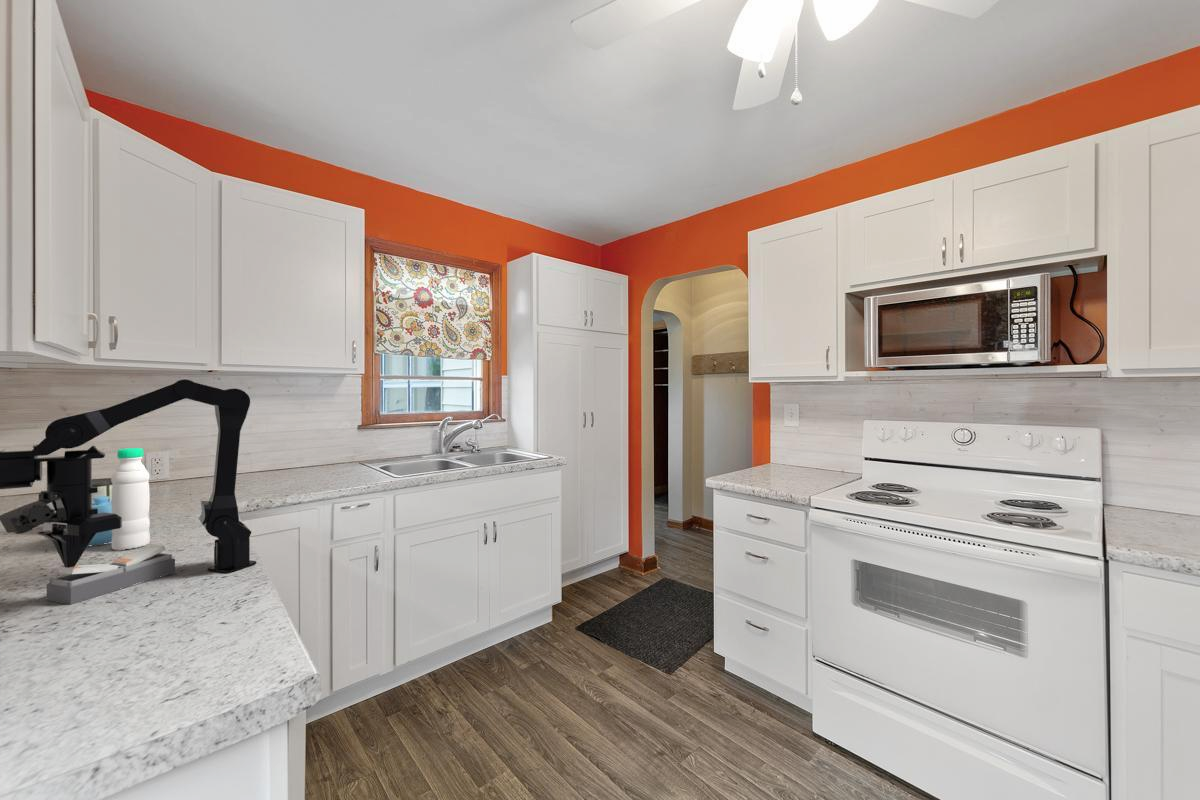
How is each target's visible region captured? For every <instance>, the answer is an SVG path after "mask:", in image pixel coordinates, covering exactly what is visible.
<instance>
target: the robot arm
mask: <svg viewBox="0 0 1200 800" xmlns="http://www.w3.org/2000/svg"><path fill="white" fill-rule="evenodd" d="M187 399H188V400H191V401H194V402H198V403H202V404H206V405H210V406H214V412H215V413H214V414H215V419H216V423H217V432H218V433H217V440H216V442H217V443H216V450H215V451H216V452H215V463H214V472H213V484H212V492H211V494H210V497H209V500H201V501H200V506H201V512H200V515H199V517H198V520H199V522H200V523H201V525H203V527H204V529H205V530H206V532H207V533H208V534H209V535H210V536H212V537H214V538H217V539H214V547H213V564H214V565H212V566H208V567H207V571H212V572H219V573H227V574H228V573H232V572H235V571H238V570H241V569H244V568H247V567H250V566H253V565H255V564H257V561H256V560H250V557H251V556H250V553H251V551H250V548H251V547H250V546H251V545H250V542H251V541H250V537H251V534H252V530H250V528H249V527H248V526H247V525H246V524H245V523H243V522H241V521H240V516H239V509H238V508H239V507H238V503H237V498H236V483H237V481H236V480H237V473H238V462H239V461H238V459H239V452H240V451H239V450H240V449H239V448H240V438H241V430H242V427H243V425H244V423H245V420H246V419H247V415H248V413H249V409H250V405H251V397H250V396H249V394H248V393H247V392H245V391H244V390H242V389H240V388H227V389H221V388H218V387H213V386H212V385H211V386H209V385H208V384H207V385H206V384H203V383H198V382H195V381H193V380H191V379H186V378H184V379H179V380H176V381H175V382H174V383H171V384H170V385H167V386H164V387H162V388H158V389H156V390H153V391H150V392H148V393H145V394H142V395H139V396H136V397H134V398H131V399H128V400H126V401H123V402H121V403H117V404H114V405H112V406H109V407H106V408H100V409H96V410H93V411H88V412H83V413H78V414H73V415H70V416H66V417H61V418H58V419H56V420H54V421H52V422H51V423H50V424H48V425H47V427H46V429H45V434H44V435H45V438H44V439H43V440H42V441H40V442H39V443H38V444H35V445H33V448H32V449H29V450H10V451H5V450H4V451H2V450H0V490H9V489H10V490H11V489H23V488H33V486H34V483H35V482H38V481H39V482H41V481H42V480H43V462H46V490H41V491H40V492H39V494H38V500H36V501H33V502H30V503H28V504H24V505H22V506H20V507H18V508H15V509H13V510H10V511H7V512H4V513H2V514H1V515H0V523H1V525H2V526H3V527H4V530H5V531H6V533H8V534H9V533H15V534H16V535H21V534H25V533H28V532H31V531H32V530H33V529H34V528H36V527H39V526H41V525H42V528H43V530H42V531H39V532H37V534H38V535H39V536H42V537H44V538H46V539H49V540H50V541H51V542H52V543H53V545H54V547H55V549H56V551H57V553H58V555H59V557H60V559H61V561H62V564H63V566H65V567H66V568H69V567H74V566H77V563H78V561H80V558H81V557H82V556H83V554H84V553H85V550H86V549H87V548H88V547H87V546H88V544H89V543H90V541H91V540H92V538H93V537H94V536H95V534H96V533H99V532H104V531H109V530H114V529H119V528H121V527H122V517H120V516H118V515H117V514H113V513H99V514H98V509H96V508H92V493H97V492H98V487H92V479H93V478H92V477H93V475H92V474H93V473H92V471H93V469H92V459H104V458H105V457H106V453H104V452H102V451H101V450H100V449H98V448H97V447H96V446H95V445H91V446H90V447H89V448H88V449H81V450H80V449H79V450H68V449H74V448H79V447H80V446H82V445H84V444H86V443H88V442H90V441H91V440H93V439H95V438H97V437H99V436H100V435H102V434H104V433H105V432H107V431H110V430H111V429H112V428H114V427H117V426H118V425H120V424H123V423H125V422H128V421H130V420H133V419H137V418H138V417H141V416H144V415H145V414H148V413H150V412H153V411H157V410H158V409H162V408H164V407H167V406H169V405H171V404H174V403H177V402H180V401H182V400H187ZM60 449H66V450H65V451H64V456H63V455H62V456H49V457H48V455H50V454H52V453H55V452H56V451H58V450H60ZM39 456H43V457H39ZM44 456H45V457H44ZM46 456H47V457H46Z"/></svg>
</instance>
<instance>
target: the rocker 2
mask: <svg viewBox="0 0 1200 800" xmlns="http://www.w3.org/2000/svg"><path fill="white" fill-rule="evenodd" d="M164 551H166V547H165V545H162V544H153V543H152V544H150V543H149V544H148V545H146V546H144V547H141V548H139V549H138V550H135V551H133V552H131V553H129V554H127V555H125V556H122V557H120V558H118V559H115V560H113V561H112V563H113V565H117V566H122V567H125V566H129V565H133V564H137V563H139V562H141V561H143V560H145V559H148V558H150V557H152V556H154V555H156V554H158V553H163V552H164Z"/></svg>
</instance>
